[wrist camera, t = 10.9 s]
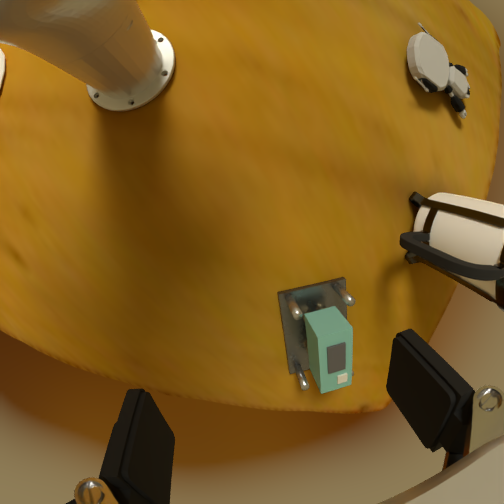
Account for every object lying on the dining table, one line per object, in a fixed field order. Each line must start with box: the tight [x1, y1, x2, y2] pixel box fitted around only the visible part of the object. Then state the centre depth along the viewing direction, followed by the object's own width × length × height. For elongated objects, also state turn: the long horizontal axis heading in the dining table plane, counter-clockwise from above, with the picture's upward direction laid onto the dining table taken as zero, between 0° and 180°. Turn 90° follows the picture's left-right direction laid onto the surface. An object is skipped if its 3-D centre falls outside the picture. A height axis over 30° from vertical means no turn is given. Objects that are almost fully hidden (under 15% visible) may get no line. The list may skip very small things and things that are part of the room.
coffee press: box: [400, 192, 504, 311], centre depth 25 cm, size 17×16×30 cm
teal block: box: [304, 306, 353, 394], centre depth 35 cm, size 10×4×6 cm, turn 10°
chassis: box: [278, 277, 355, 390], centre depth 39 cm, size 15×10×6 cm, turn 10°
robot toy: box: [407, 23, 470, 118], centre depth 30 cm, size 12×4×15 cm
